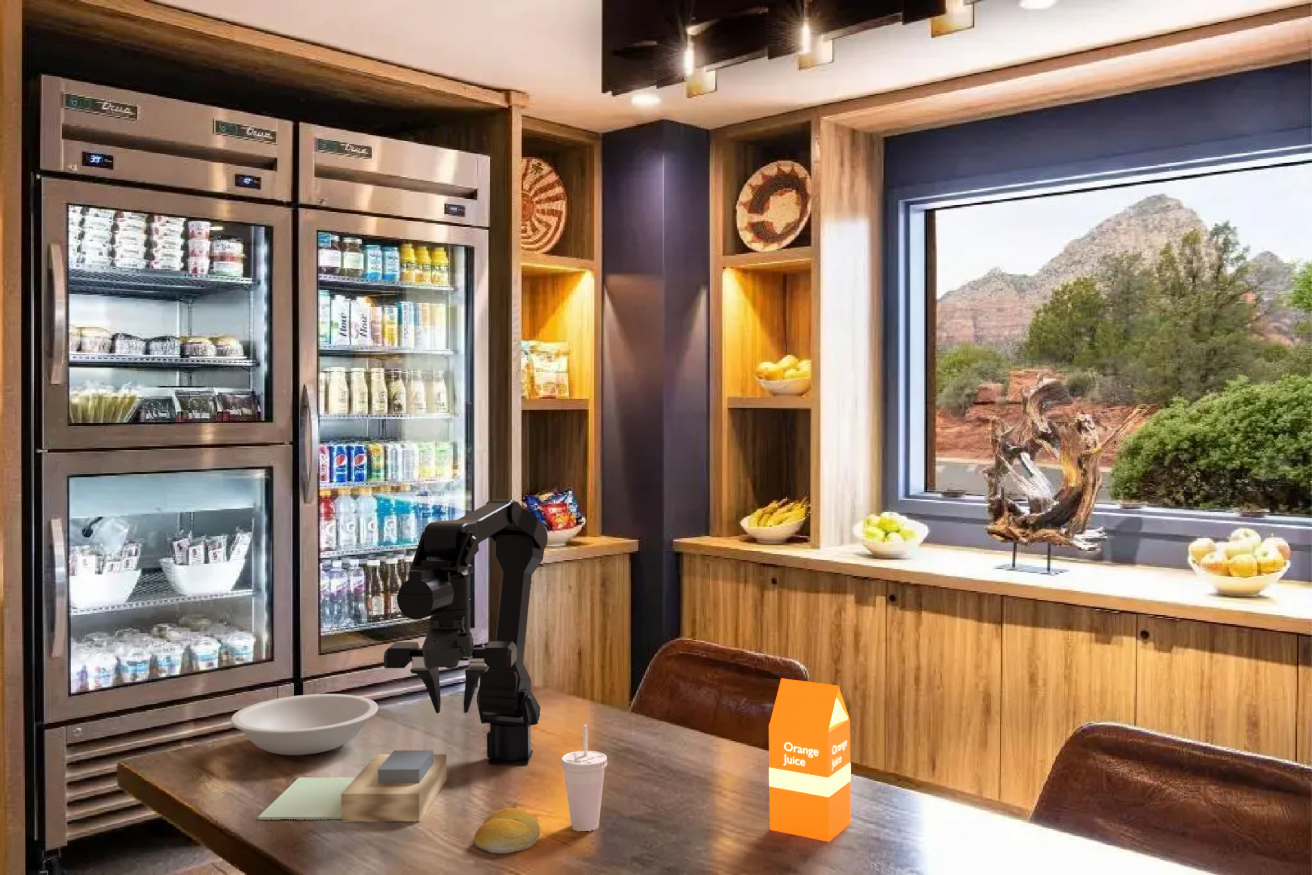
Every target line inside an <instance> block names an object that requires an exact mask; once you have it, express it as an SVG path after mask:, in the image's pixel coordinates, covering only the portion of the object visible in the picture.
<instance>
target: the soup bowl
mask: <svg viewBox="0 0 1312 875" xmlns="http://www.w3.org/2000/svg"><path fill="white" fill-rule="evenodd" d="M378 710H379V706H378V703H377V702H375V701H374V700H372V699H371V698H367V697H363V696H358V695H352V694H341V693H316V694H315V693H314V694H302V695H293V696H285V697H279V698H274V699H269V700H266V701H265V700H263V701H261V702H258V703H254V704H251V705H248V706H246V707H244V708H241V709H239V710H238V711H237V712H236V711H235V713H233V714H232V716H231V718H230V723H231V725H232V726H233V727H234V728H236V729H237V730H241V731H242V732H243V734H244V735H245V737H246V738H247V739H248V740H249V741H250V742H251V743H253V745H255V746H256V747H257V748H260V749H261V750H263V751H265V752H269V753H272V754H277V755H283V756H304V755H313V754H319V753H324V752H327V751H328V752H329V751H331V750H335V749H337V748H339V747H341V746H343V745H346V744H347V743H349V742H350V741H352V739H354V738H355V737H356V736H357V735H358V734H359V733H360V732H361V731H362V729H363V728H364V727H365V726H366V724H367V721H368V720H369V719H370V718H372V717H373V716H374V715H376V714H377V713H378Z"/></svg>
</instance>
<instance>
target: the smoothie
mask: <svg viewBox="0 0 1312 875" xmlns="http://www.w3.org/2000/svg"><path fill="white" fill-rule="evenodd" d="M582 730H583V731H582V732H583V734H582V735H583V736H582V739H583V750H578V751H577V750H576V751H572V752H568V753H566V754H564V755H563V756H561V761H560V762H561V764H560V767H561V768H562V769H563V773H564V781H565V789H566V793H567V794H566V796H567V803H568V809H569V810H568V811H569V816H570V824H571V829H572V830H573V831H575V830H578V831H577V832H579V831H589V832H592V831H591V830H593V831H595V830H597V829H599V826H600V815H601V807H602V797H603V788H604V778H605V771H606V770H605V768H606V767H607V765H608V757H607V755H606V754H605V753H602V752H601V751H595V750H589V749H588V724H583V725H582Z"/></svg>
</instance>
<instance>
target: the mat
mask: <svg viewBox="0 0 1312 875" xmlns="http://www.w3.org/2000/svg"><path fill="white" fill-rule="evenodd" d="M356 777H357V776H355V777H351V776H350V777H341V776H340V777H332V776H331V777H298V778H297V779H296V780H295V781H294V782H293V783H292V784H291V785H289V786H288V788H286V789H285V791H283V792H282V794H280V795H279V796H278V797H277V798H276V799H275V800H274V801H273V802H272V803H271V804H269V805H268V806H267V808H265V809H264V810H263V811H262V813H260V814H259V815H257V820H258V821H259V820H260V821H263V820H264V821H265V820H267V821H269V820H271V819H272V821H273V820H275V821H276V820H280V819H281V820H280V821H283V820H282V819H289V821H291V820H292V819H294V820H293V821H295V819H296V820H297V819H298V820H297V821H299V820H302V821H303V820H304V819H305V820H310V821H311V820H317V819H318V820H320V819H321V820H323V821H324V820H327V819H342V807H341V794H342V793H343V791H344V790H345V789H346V788H347V787H348V786H349V785H350V784H351V782H352V781H353V780H354V779H355V778H356ZM290 819H291V820H290ZM318 820H317V821H318ZM321 820H320V821H321Z"/></svg>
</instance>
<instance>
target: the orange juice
mask: <svg viewBox="0 0 1312 875" xmlns="http://www.w3.org/2000/svg"><path fill="white" fill-rule="evenodd" d="M776 694H777V695H776V698H775V701H774V704H773V709H772V713H771V717H770V720H769V721H770V722H769V724H768V757H769V758H768V762H769V764H768V765H769V767H768V787H769V831H775V832H780V833H784V834H785V833H786V834H789V835H793V836H794V835H795V836H799V837H805V838H808V839H813V840H819V841H823V842H831V841H832V840H833V839H835V837H837V836H838V835H839V834H840V833H841V832H842V831H843V832H844V830H845V829H846V828H848V827H849V826H850V825H851V824H852V823H851V822H852V818H851V815H852V814H851V813H852V812H851V810H852V809H851V804H852V802H851V781H852V778H851V777H852V776H851V775H852V772H851V770H852V768H851V767H852V765H851V719H850V717H849V713H848V710H847V707H846V705H845V701H844V698H843V695H842V693H841V689H840V686H839V685H835V684H829V683H828V684H827V683H821V682H820V683H819V682H811V681H804V680H797V679H790V678H789V679H788V678H780V682H779V686H778V690H777V693H776Z"/></svg>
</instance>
